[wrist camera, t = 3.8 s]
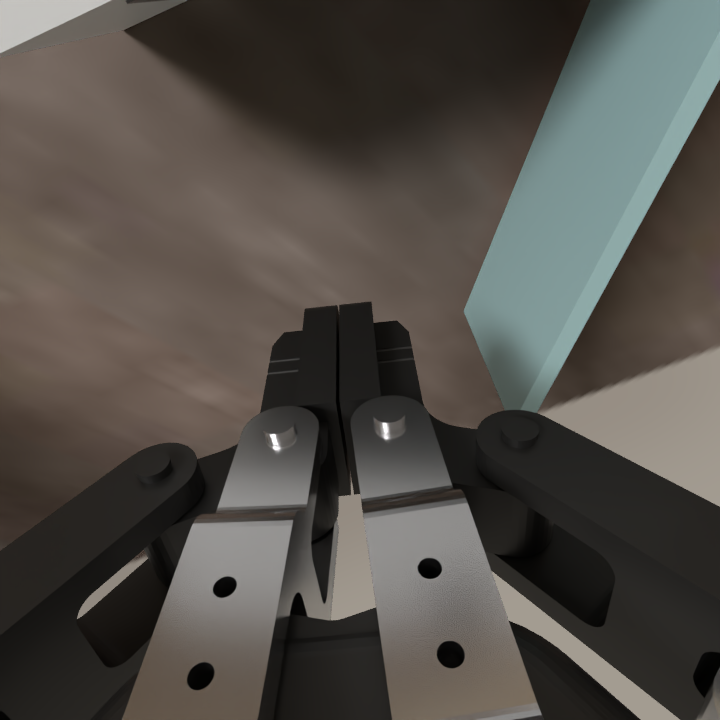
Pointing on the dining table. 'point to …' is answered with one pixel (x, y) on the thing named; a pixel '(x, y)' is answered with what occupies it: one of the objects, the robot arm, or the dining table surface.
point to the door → (589, 182)
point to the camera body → (69, 20)
